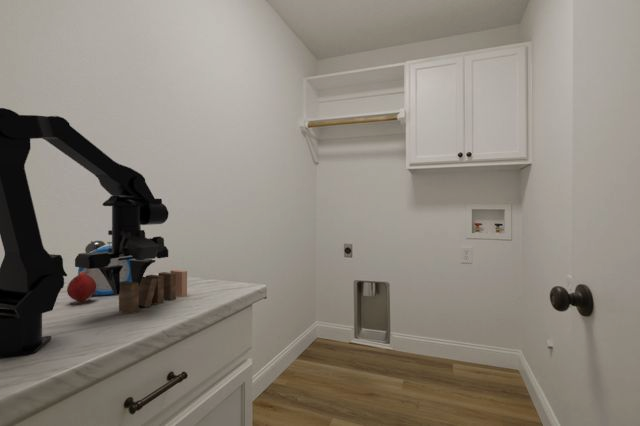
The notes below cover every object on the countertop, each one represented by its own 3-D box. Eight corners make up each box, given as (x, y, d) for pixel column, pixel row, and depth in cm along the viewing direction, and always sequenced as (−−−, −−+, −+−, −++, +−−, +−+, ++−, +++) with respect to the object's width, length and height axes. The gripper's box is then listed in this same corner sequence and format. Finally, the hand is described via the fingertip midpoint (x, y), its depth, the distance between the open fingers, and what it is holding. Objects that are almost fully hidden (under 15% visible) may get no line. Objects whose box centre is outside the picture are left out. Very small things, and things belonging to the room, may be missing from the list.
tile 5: (182, 296, 84) (182, 272, 84) (170, 294, 86) (170, 270, 86) (186, 295, 85) (187, 271, 85) (175, 293, 87) (175, 269, 87)
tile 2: (144, 306, 74) (152, 277, 76) (131, 303, 76) (140, 276, 78) (150, 306, 75) (158, 278, 77) (137, 304, 77) (145, 276, 79)
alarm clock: (77, 298, 82) (77, 242, 82) (85, 292, 88) (86, 239, 88) (133, 294, 86) (133, 240, 86) (138, 288, 92) (138, 238, 92)
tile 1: (131, 314, 70) (131, 284, 70) (118, 311, 72) (119, 282, 72) (138, 311, 71) (138, 282, 71) (125, 309, 73) (125, 280, 73)
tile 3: (157, 304, 77) (158, 277, 77) (145, 302, 79) (145, 275, 79) (163, 302, 79) (163, 276, 78) (151, 300, 80) (151, 274, 80)
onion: (80, 306, 75) (80, 273, 75) (60, 305, 76) (61, 272, 76) (101, 300, 80) (101, 269, 80) (83, 298, 82) (83, 268, 82)
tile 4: (170, 300, 80) (170, 274, 80) (158, 298, 82) (158, 273, 82) (175, 298, 82) (175, 273, 82) (163, 296, 84) (163, 272, 84)
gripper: (106, 229, 60) (106, 308, 60) (184, 225, 77) (183, 287, 77) (73, 227, 65) (73, 301, 65) (153, 224, 82) (153, 282, 82)
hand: (126, 292), depth 72 cm, fingers open, 4 cm apart
